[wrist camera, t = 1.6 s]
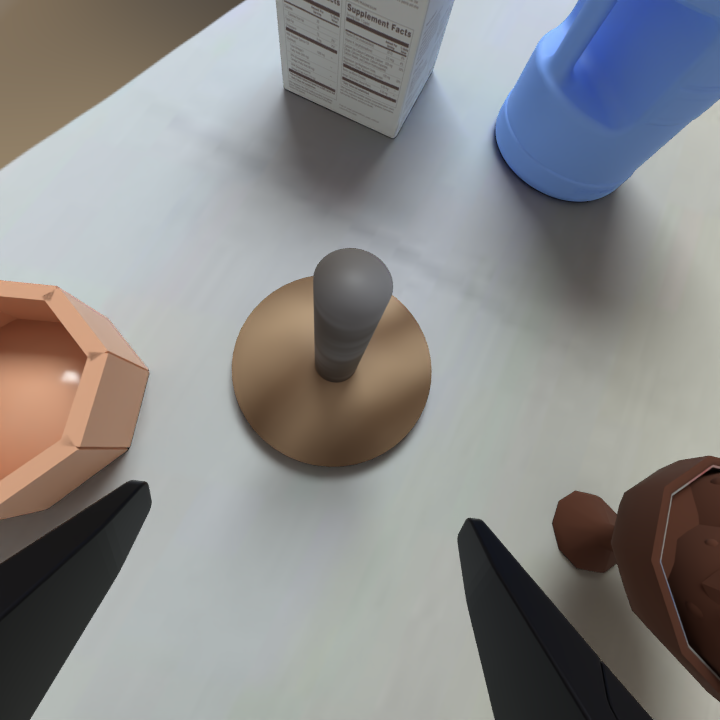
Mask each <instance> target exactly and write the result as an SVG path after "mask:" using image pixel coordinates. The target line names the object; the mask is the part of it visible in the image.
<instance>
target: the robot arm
mask: <svg viewBox="0 0 720 720" xmlns="http://www.w3.org/2000/svg"><path fill="white" fill-rule="evenodd" d="M151 504H152V500H151V495H150V490H149V485H148V483H147V482H145V481H136V480H131V481H128V482H126V483H125V484H123V485H121V486H120V487H118V488H117V489H115V490H114V491H112V492H111V493H109V494H108V495H106V496H104V497H103V498H101V499H100V500H98V501H97V502H95V503H94V504H92V505H91V506H89V507H87V508H86V509H84V510H83V511H81V512H80V513H78V514H77V515H75V516H74V517H72V518H70V519H69V520H67V521H66V522H64V523H63V524H61V525H60V526H58V527H57V528H55V529H53V530H52V531H50V532H49V533H47V534H46V535H44V536H43V537H41V538H40V539H38V540H36V541H35V542H33V543H32V544H30V545H29V546H27V547H26V548H24V549H23V550H21V551H20V552H18V553H16V554H15V555H13V556H12V557H10V558H9V559H7V560H6V561H4V562H3V563H1V564H0V720H30V719H31V717H32V716H33V714H34V712H35V711H36V709H37V707H38V706H39V704H40V702H41V701H42V699H43V697H44V696H45V694H46V692H47V691H48V689H49V688H50V686H51V684H52V683H53V681H54V679H55V678H56V676H57V674H58V673H59V671H60V669H61V668H62V666H63V664H64V663H65V661H66V660H67V658H68V656H69V655H70V653H71V651H72V650H73V648H74V646H75V645H76V643H77V641H78V640H79V638H80V636H81V635H82V633H83V632H84V630H85V628H86V627H87V625H88V623H89V622H90V620H91V618H92V617H93V615H94V613H95V612H96V610H97V608H98V607H99V605H100V604H101V602H102V600H103V599H104V597H105V595H106V594H107V592H108V590H109V589H110V587H111V585H112V584H113V582H114V580H115V579H116V577H117V575H118V573H119V572H120V570H121V568H122V566H123V564H124V562H125V560H126V558H127V556H128V554H129V552H130V550H131V548H132V546H133V544H134V542H135V540H136V537H137V535H138V533H139V531H140V529H141V527H142V525H143V523H144V521H145V519H146V517H147V515H148V513H149V511H150V508H151ZM457 540H458V549H459V556H460V562H461V569H462V576H463V583H464V589H465V595H466V601H467V606H468V610H469V615H470V619H471V623H472V627H473V631H474V635H475V640H476V644H477V648H478V652H479V656H480V660H481V664H482V669H483V673H484V677H485V681H486V685H487V689H488V693H489V698H490V702H491V706H492V710H493V714H494V718H495V720H653V719H652V718H651V717H650V715H649V714H648V713H647V712H646V711H645V710H644V709H643V708H642V706H641V705H640V704H639V703H638V702H637V701H636V700H635V698H634V697H633V696H632V695H631V694H630V693H629V692H628V690H627V689H626V688H625V687H624V686H623V685H622V684H621V682H620V681H619V680H618V679H617V678H616V677H615V675H614V674H613V673H612V672H611V671H610V670H609V668H608V667H607V666H606V665H605V664H604V663H603V662H602V661H600V658H599V657H598V656H597V654H596V653H595V652H594V651H593V650H592V648H591V647H590V646H589V645H588V644H587V643H586V641H585V640H584V639H583V638H582V637H581V636H580V634H579V633H578V632H577V631H576V630H575V628H574V627H573V626H572V625H571V624H570V623H569V621H568V620H567V619H566V618H565V617H564V616H563V614H562V613H561V612H560V611H559V610H558V608H557V607H556V606H555V605H554V604H553V603H552V601H551V600H550V599H549V598H548V597H547V596H546V594H545V593H544V592H543V591H542V590H541V588H540V587H539V586H538V585H537V584H536V583H535V581H534V580H533V579H532V578H531V577H530V575H529V574H528V573H527V572H526V571H525V570H524V568H523V567H522V566H521V565H520V564H519V563H518V561H517V560H516V559H515V558H514V557H513V555H512V554H511V553H510V552H509V551H508V550H507V548H506V547H505V546H504V545H503V544H502V543H501V541H500V540H499V539H498V538H497V537H496V535H495V534H494V533H493V532H492V531H491V530H490V528H489V527H488V526H487V525H486V524H485V523H484V522H483V521H482V520H481V519H476V518H468V519H466V521H465V522H464V524H463V526H462V528H461V530H460V532H459V534H458V539H457Z"/></svg>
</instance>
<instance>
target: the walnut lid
mask: <svg viewBox="0 0 720 720" xmlns="http://www.w3.org/2000/svg"><path fill="white" fill-rule="evenodd" d="M392 292H393V281H392V277H391V274H390V272H389V270H388V268H387V267H386V265H385V264H384V263H383V262H382V261H381V260H380V259H379V258H378V257H376V256H375V255H373V254H371V253H369V252H367V251H364V250H361V249H356V248H345V249H340V250H336V251H334V252H331V253H330V254H328V255H327V256H325V257H324V258H323V259H322V260H321V261H320V262H319V264H318V265H317V267H316V269H315V272H314V276H311V277H306V278H303V279H299V280H296V281H293V282H291V283H289V284H286V285H284V286H282V287H281V288H279V289H277V290H276V291H274V292H273V293H271V294H270V295H269V296H267V297H266V298H265V299H264V300H263V301H262V302H261V303H260V304H259V305H258V306H257V307H256V308H255V309H254V310H253V311H252V313H251V314H250V315H249V317H248V318H247V320H246V321H245V323H244V325H243V327H242V328H241V330H240V333H239V335H238V338H237V340H236V344H235V348H234V352H233V360H232V380H233V386H234V391H235V395H236V398H237V401H238V404H239V406H240V408H241V410H242V412H243V414H244V416H245V418H246V420H247V421H248V422H249V424H250V425H251V427H252V428H253V430H254V431H255V432H256V433H257V434H258V435H259V436H260V437H261V438H262V439H263V440H264V441H265V442H267V443H268V444H269V445H270V446H272V447H273V448H274V449H276V450H277V451H279V452H281V453H283V454H284V455H286V456H288V457H290V458H293V459H295V460H298V461H300V462H304V463H308V464H312V465H318V466H327V467H337V466H348V465H354V464H359V463H362V462H365V461H368V460H371V459H373V458H375V457H377V456H379V455H381V454H383V453H385V452H386V451H388V450H389V449H391V448H393V447H394V446H395V445H396V444H397V443H399V442H400V441H401V440H402V439H403V438H404V437H405V436H406V435H407V434H408V433H409V432H410V430H411V429H412V428H413V427H414V425H415V424H416V422H417V420H418V419H419V417H420V415H421V413H422V411H423V409H424V407H425V404H426V401H427V398H428V395H429V390H430V384H431V359H430V354H429V349H428V345H427V342H426V340H425V337H424V334H423V332H422V330H421V328H420V326H419V324H418V323H417V321H416V320H415V318H414V317H413V315H412V314H411V313H410V312H409V311H408V309H407V308H406V307H405V306H404V305H403V304H402V303H401V302H400V301H399V300H398V299H397V298H395V297H394V296H393V295H392Z"/></svg>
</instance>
